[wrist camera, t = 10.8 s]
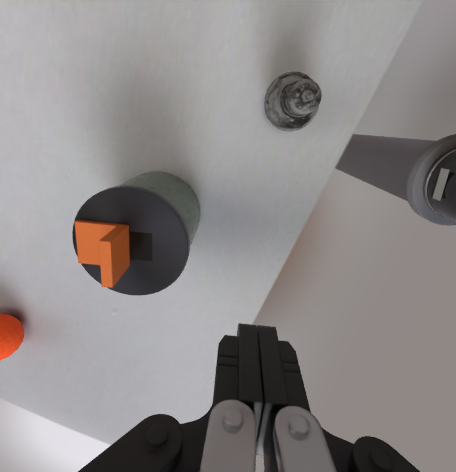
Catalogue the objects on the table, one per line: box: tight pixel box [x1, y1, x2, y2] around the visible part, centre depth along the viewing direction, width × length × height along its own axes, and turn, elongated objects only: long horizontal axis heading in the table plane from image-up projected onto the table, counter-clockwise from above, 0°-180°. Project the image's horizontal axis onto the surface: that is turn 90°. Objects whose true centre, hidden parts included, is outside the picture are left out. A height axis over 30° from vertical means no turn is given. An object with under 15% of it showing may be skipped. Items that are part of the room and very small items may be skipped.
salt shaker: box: [265, 72, 321, 131], centre depth 30 cm, size 6×6×12 cm
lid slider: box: [75, 220, 130, 288], centre depth 27 cm, size 5×4×4 cm
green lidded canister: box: [73, 172, 200, 295], centre depth 35 cm, size 12×12×12 cm
